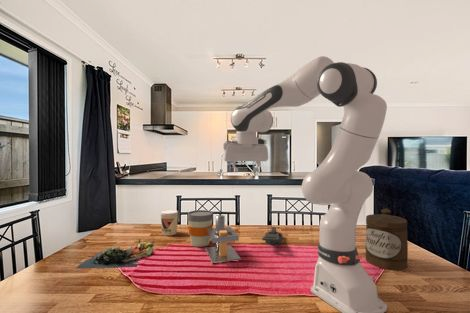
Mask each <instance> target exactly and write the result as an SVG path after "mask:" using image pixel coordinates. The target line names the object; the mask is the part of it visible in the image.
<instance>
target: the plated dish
mask: <svg viewBox="0 0 470 313" xmlns="http://www.w3.org/2000/svg"><path fill="white" fill-rule="evenodd" d="M154 243H155V238H153V240H152V241H151V242H150V241H149V242H145V241H144V242H143V241H141V238H139V239H138V243H137V244H135V245H133V246H132V245H130V246H129V247H127V248H126V249H125V248H121V247H120V246H118V247H117V246H115V247H109V248H106V249H104V250H101V251H99V252H97V253H95V254H94V256H92V257H91V258H89V259H86V260H84V261H83V262H81V263H79V264H78V266H76V267H75V269H107V268H111V269H113V268H116V269H117V268H138V267H137V265H139V262H138V261H140V260H143V259H145V258H146V256H147V257H150V256H151V255H152V254H153V250H154V249H153V247H154ZM151 253H152V254H151ZM144 257H145V258H144ZM142 258H143V259H142ZM139 259H140V260H139ZM137 263H138V264H137Z"/></svg>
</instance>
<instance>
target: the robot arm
mask: <svg viewBox="0 0 470 313" xmlns="http://www.w3.org/2000/svg"><path fill="white" fill-rule="evenodd" d="M377 86H378V79H377V76H376V75H375V73H374V72H373V71H372V70H371V69H369V68H367V67H364V66H361V65H358V64H356V63H355V64H354V63H349V62H342V61H340V62H334V61H333V60H332V59H331V58H329V57H328V56H324V55H323V56H318V57H316V58H314V59H312V60H311V61H309V62H307V63H306V64H305V65H303V66H302V67H301V68H299V69H298V70H297V71H296V72H295V71H294V73H293V74H292V75H290V76H289V77H287V78H286V79H284V80H283V81H281V82H279V83H276V85H273V86H271V87H269V88H267V89H266V90H263V91H262V92H261V93H259V94H258V95H257V96H255V97H254V98H252V99H251V100H250V101H248V102H247V103H241V104H240V105H238V106H237V107H235V109H234V110H232V113H231V116H230V122H231V125H232V127H233V128H234V129H235V131H236V135H235V136H236V138H235V139H236V140H226V141H224V143H223V151H224V152H223V161H225V162H230V163H231V165H232V168H233V172H234V173H238V172H239V167H236V163H237V162H255V164H256V165H255V167H253V172H259V168H260V166H261V162H267V161H268V160H269V150H268V147H267V140H266V139H264V138H261V137H258V136H257V133H265V132H268V131H270V130H271V128H272V126H273V123H274V117H273V115H272V112H270V111H269V110H270V109H274V108H281V107H284V108H285V107H287V108H288V107H293V108H294V107H301V106H303V105H305V104H308V103H309V102H311V101H313V100H314V99H316V97H319V96H320V95H321V96H322V97H324V98H325V99H327V100H328V101H329V102H331V103H332V104H334V105H335V106H337V107H343V112H344V113H343V117H342V120H341V122H340V126H339V128H338V131H337V133H336V137H335V138H334V142H333V145H332V147H331V149H330V151H329V152H328V154H327V155H326V157H325V158H324V159H323V161H322V162H321V163H320V164H319V165H318V166H317V167H316V168H315V169H314V170H312V171H311V172H309V173H307V175H305V176H304V178H303V180H302V183H301V192H302V195H303V197H304V198H305V201H307V202H308V203H310V204H313V205H319V206H329V208H328V210H327V212H326V213H325V214H324V215H323V216H322V217H321V218H320V221H319V232H318V234H319V237H318V238H319V241H318V243H317V255H318V259H317V261H316V264H315V266H314V267H315V268H314V275H313V285H311V287H310V292H311V293H312V294H313V295H315V296H317V297H318V298H319V299H321V300H323V301H324V302H325V303H327V304H328V305H330V306H331V307H332V308H334V309H336V310H337V311H339V312H340V313H385V312H387V310H388V304H386V303H385V301H384V300H382V299H381V298H380V297H379V296H378V288H377V285H376V283H375V282H374V279H373V277H372V276H371V275H369V274H368V272H367V271H366V270H365V268H364V267H363V265H362V264H361V262H360V260H361V259H363V258H362V257H363V255H362V254H359V252H358V249H357V246H356V235H357V225H358V224H357V223H358V219H359V216H360V213H361V210H362V208H363V205H364V204H365V202H366V201H367V199H368V198H369V197H370V196H371V194H372V193H373V189H374V184H373V180H372V178H371V177H370V176H369V175H368V174H367V173H366V172H363V171H359V169H360V168H361V167H363V166H364V165H366V164H367V163H368V162H369V161H370V159H371V156H372V154H373V151H374V149H375V147H376V144H377V143H378V139H379V137H380V134H381V132H382V129H383V126H384V122H385V120H386V115H387V109H388V106H387V102H386V100H385V99H384V98H383V97H381V96H380V95H377V94H375V91H376V90H377Z"/></svg>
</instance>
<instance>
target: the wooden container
mask: <svg viewBox="0 0 470 313" xmlns="http://www.w3.org/2000/svg"><path fill="white" fill-rule="evenodd" d="M380 212H381V214H380V213H379V214H377V213H374V214H367V215H366V216H365V224H366V226H365V227H366V229H365V260H366V261H367V263H369V264H371V265H372V264H373V266H375V267H377V266H378V268H380V267H381V269H384V268H385V270H393V271H402V270H405V269H407V268H408V260H409V259H408V256H409V254H408V253H409V252H408V251H409V249H408V247H409V246H408V220H407V219H405V218H403V217H400V216H396V215H391V212H392V210H390V209H389V208H387V207H386V208H381V210H380Z"/></svg>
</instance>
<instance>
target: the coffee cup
mask: <svg viewBox="0 0 470 313" xmlns="http://www.w3.org/2000/svg"><path fill="white" fill-rule="evenodd" d="M160 218H161V219H160V220H161V222H160V223H161V234H162V236H168V237H169V236H174V235H176V234H177V231H178V219H179V211H178V210H176V209H166V210H163V211H161V212H160Z"/></svg>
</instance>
